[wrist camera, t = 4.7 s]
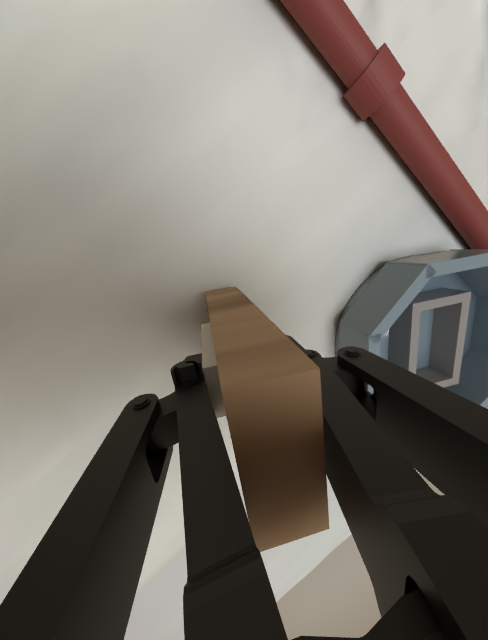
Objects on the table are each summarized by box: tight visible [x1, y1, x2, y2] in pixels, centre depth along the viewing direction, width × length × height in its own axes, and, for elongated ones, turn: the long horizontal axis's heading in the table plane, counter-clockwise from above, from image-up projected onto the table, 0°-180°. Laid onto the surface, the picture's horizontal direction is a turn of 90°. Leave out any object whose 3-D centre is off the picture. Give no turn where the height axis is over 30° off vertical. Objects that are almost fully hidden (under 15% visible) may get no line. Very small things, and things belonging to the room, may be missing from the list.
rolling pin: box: [280, 0, 488, 249], centre depth 18 cm, size 45×3×3 cm, turn 52°
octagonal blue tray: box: [335, 249, 488, 408], centre depth 22 cm, size 16×16×5 cm
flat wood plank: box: [205, 287, 329, 552], centre depth 13 cm, size 6×2×14 cm, turn 8°
